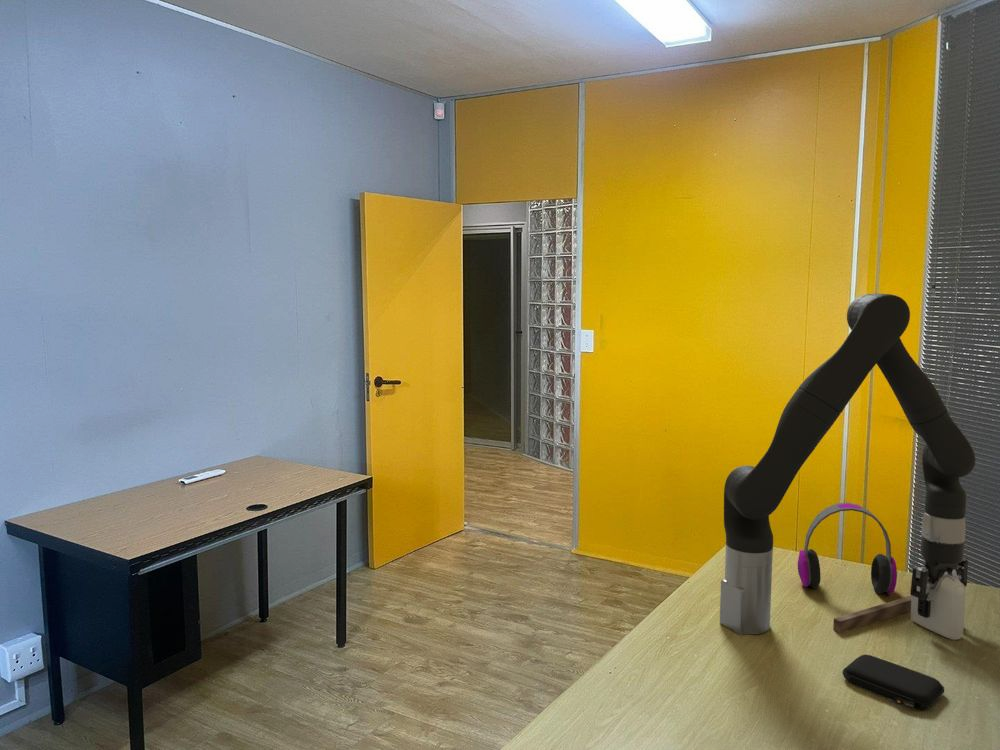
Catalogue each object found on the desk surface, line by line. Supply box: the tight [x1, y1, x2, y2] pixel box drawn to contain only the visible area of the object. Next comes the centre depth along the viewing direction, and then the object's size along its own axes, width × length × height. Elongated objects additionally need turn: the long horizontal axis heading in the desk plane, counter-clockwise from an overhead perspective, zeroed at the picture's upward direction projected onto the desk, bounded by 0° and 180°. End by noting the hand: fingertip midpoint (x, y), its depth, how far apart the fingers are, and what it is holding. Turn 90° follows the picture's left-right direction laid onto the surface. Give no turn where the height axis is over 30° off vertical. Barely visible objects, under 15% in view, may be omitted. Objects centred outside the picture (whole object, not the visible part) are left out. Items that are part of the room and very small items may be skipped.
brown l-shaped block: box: [832, 594, 912, 634], centre depth 153 cm, size 25×10×3 cm, turn 116°
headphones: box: [797, 502, 898, 595], centre depth 171 cm, size 21×9×20 cm, turn 77°
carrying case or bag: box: [842, 654, 945, 711], centre depth 131 cm, size 11×3×15 cm
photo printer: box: [910, 566, 967, 641], centre depth 152 cm, size 10×4×12 cm, turn 21°
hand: (937, 611), depth 152 cm, fingers open, 8 cm apart
